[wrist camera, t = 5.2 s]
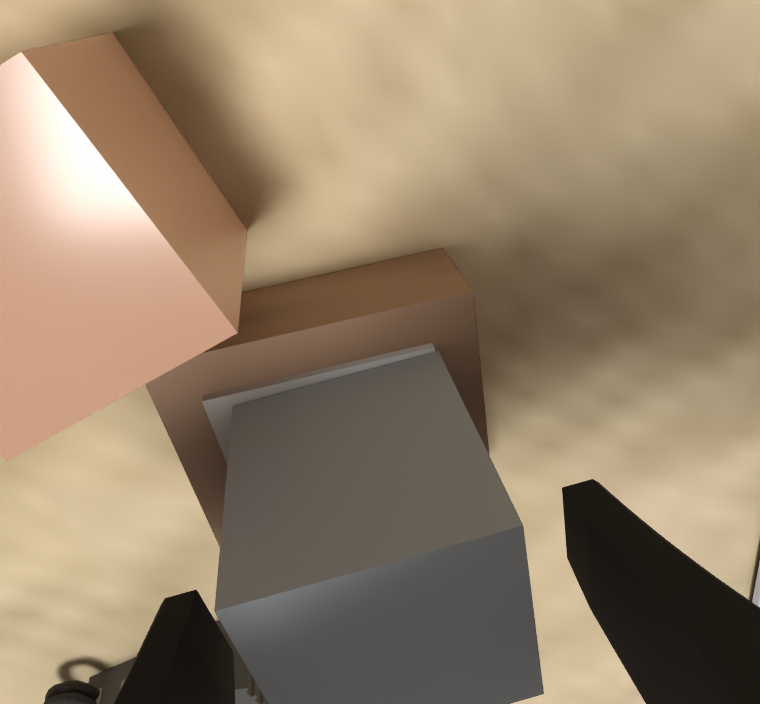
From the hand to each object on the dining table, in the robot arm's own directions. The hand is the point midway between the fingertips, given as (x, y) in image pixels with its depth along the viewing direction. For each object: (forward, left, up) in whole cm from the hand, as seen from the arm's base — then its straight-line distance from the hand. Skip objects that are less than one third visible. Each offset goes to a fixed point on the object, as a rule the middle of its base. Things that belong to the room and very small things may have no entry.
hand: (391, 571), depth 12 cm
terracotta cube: (+7, +4, -6) cm, 10 cm away
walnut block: (0, +1, -6) cm, 6 cm away
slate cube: (0, 0, -3) cm, 3 cm away
